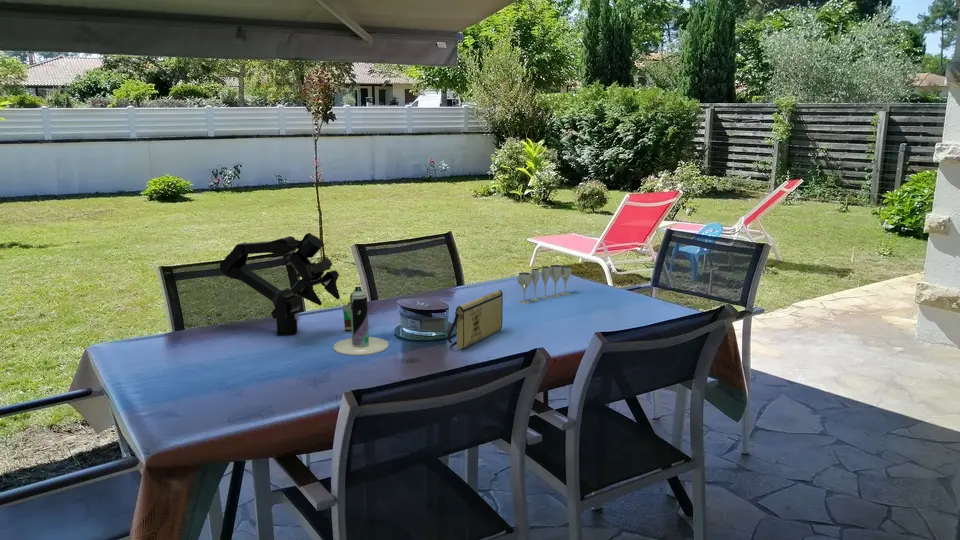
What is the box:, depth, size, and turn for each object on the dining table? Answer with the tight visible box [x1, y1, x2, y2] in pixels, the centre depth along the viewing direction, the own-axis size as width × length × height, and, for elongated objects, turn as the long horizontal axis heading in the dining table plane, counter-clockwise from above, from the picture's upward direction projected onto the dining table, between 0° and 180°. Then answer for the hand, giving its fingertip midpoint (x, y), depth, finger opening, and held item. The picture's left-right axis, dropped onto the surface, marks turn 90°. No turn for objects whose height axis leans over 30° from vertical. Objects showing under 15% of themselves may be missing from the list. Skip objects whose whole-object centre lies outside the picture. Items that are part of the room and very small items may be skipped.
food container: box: [342, 301, 352, 332], centre depth 263 cm, size 12×6×10 cm, turn 168°
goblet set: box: [517, 264, 572, 304], centre depth 305 cm, size 28×6×13 cm, turn 127°
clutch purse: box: [447, 289, 504, 351], centre depth 250 cm, size 30×7×15 cm, turn 149°
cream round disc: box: [333, 336, 389, 356], centre depth 243 cm, size 18×18×1 cm
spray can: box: [349, 286, 370, 347], centre depth 241 cm, size 6×6×20 cm
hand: (330, 301), depth 248 cm, fingers open, 9 cm apart
